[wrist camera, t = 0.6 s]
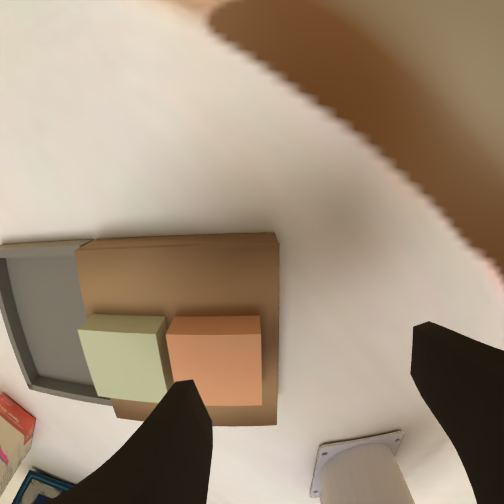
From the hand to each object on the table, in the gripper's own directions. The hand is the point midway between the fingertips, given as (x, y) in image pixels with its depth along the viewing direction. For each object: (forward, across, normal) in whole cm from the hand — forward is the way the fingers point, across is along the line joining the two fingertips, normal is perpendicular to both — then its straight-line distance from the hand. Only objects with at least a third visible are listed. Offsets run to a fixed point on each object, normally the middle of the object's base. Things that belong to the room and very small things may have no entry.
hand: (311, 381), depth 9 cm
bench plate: (+10, +6, +2) cm, 12 cm away
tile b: (+7, +9, +2) cm, 12 cm away
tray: (+10, +16, 0) cm, 19 cm away
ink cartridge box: (+10, +31, +12) cm, 35 cm away
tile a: (+7, +4, +3) cm, 8 cm away
